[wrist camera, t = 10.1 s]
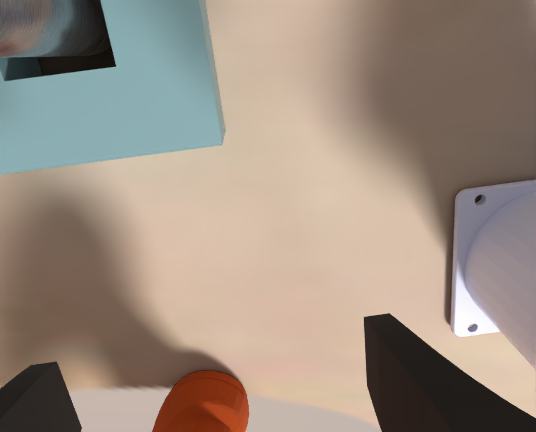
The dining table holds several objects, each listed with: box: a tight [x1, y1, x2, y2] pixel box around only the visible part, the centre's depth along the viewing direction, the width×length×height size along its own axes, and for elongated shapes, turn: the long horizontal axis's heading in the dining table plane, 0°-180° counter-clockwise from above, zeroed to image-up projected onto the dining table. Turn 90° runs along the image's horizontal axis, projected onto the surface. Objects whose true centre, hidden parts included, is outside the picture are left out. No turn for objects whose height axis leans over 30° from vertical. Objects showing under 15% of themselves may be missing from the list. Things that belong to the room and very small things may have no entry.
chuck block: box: [0, 0, 225, 174], centre depth 15 cm, size 10×10×3 cm
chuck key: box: [0, 0, 111, 58], centre depth 12 cm, size 3×3×10 cm
